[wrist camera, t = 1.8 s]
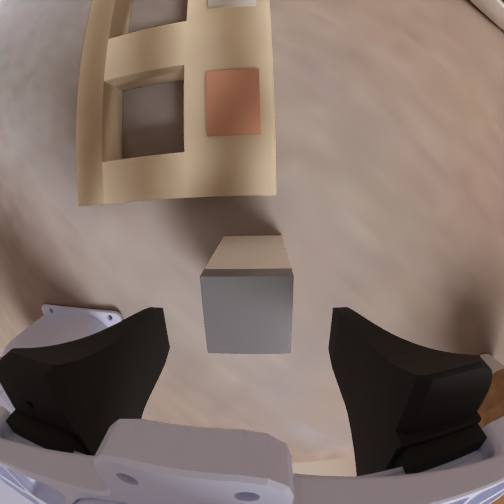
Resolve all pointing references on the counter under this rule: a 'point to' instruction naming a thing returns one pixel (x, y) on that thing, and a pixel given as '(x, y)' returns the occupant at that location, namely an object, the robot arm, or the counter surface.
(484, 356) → the coffee cup
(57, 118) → the counter surface
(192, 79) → the socket block
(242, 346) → the plug
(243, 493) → the robot arm
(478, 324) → the counter surface
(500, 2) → the bowl
